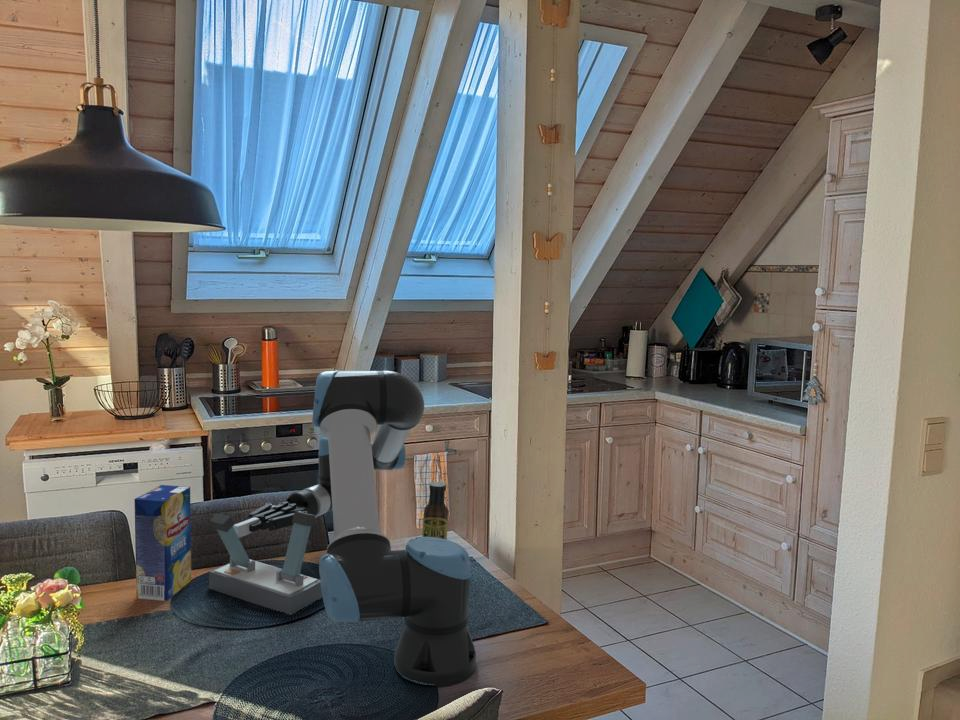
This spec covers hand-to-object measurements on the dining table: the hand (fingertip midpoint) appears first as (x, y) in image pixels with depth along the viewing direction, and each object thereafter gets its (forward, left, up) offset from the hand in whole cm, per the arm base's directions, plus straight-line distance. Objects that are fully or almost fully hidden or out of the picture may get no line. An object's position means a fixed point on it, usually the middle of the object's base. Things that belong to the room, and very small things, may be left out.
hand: (235, 531), depth 169 cm
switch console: (-5, -5, -13) cm, 15 cm away
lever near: (-11, -9, -8) cm, 16 cm away
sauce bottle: (-5, -47, -13) cm, 49 cm away
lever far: (+1, -2, -8) cm, 8 cm away
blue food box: (+7, +14, -13) cm, 20 cm away
